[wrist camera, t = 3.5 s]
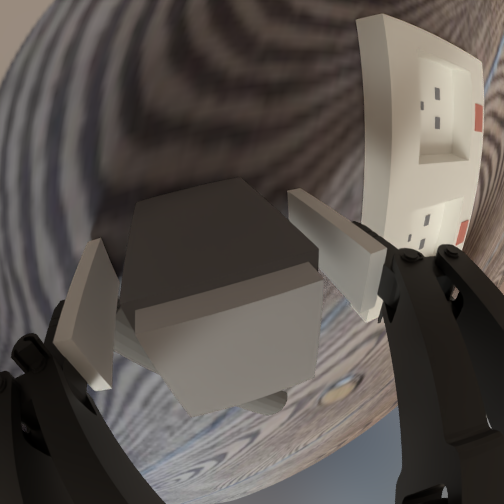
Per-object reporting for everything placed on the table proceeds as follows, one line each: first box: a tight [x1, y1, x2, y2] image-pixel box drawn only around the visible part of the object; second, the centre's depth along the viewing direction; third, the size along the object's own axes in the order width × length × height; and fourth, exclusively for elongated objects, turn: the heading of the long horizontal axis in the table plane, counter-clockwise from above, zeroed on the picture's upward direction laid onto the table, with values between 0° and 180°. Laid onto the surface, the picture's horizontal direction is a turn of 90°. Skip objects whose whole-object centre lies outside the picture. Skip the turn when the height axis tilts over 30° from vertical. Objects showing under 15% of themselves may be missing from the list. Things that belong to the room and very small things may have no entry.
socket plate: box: [350, 13, 484, 323], centre depth 15 cm, size 12×20×2 cm, turn 6°
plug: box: [119, 177, 324, 417], centre depth 10 cm, size 5×5×8 cm
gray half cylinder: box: [113, 307, 287, 415], centre depth 19 cm, size 4×20×2 cm, turn 35°
